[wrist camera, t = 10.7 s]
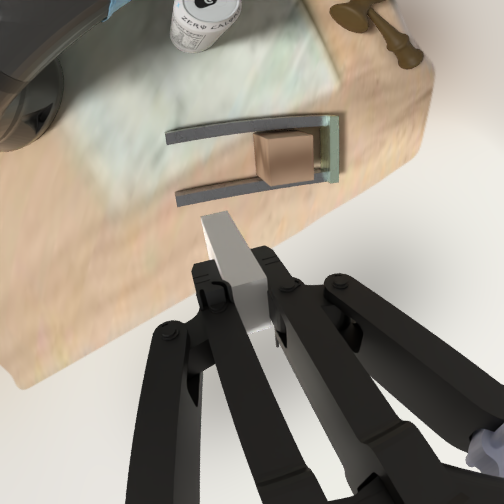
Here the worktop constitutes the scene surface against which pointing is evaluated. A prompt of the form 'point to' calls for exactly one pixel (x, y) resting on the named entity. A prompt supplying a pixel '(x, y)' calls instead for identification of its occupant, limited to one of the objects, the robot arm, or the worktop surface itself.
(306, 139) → the chute block
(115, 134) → the worktop surface
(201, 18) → the energy drink can
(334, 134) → the chute
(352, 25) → the kendama
